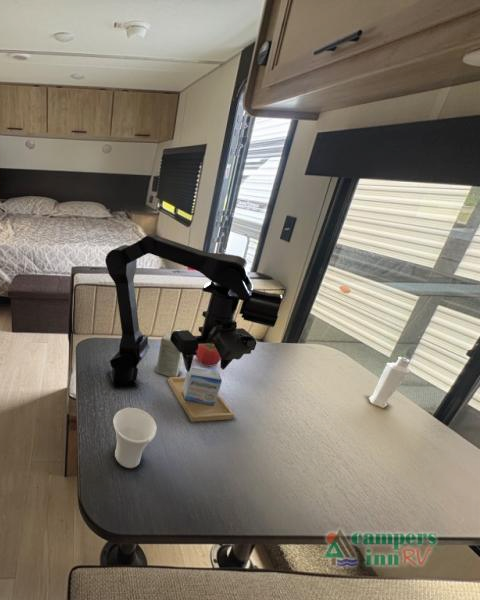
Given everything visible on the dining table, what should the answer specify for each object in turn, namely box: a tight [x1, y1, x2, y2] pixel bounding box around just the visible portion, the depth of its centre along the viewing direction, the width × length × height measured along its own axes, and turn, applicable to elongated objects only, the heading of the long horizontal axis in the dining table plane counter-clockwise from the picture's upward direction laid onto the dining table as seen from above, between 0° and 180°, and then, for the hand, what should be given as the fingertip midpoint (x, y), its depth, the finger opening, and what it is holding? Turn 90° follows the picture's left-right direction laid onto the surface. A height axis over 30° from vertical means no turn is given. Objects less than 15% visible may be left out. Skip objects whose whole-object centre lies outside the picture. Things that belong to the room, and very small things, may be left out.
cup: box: [112, 407, 158, 469], centre depth 63 cm, size 9×9×10 cm
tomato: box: [195, 344, 221, 367], centre depth 97 cm, size 8×8×8 cm
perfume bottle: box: [368, 356, 412, 409], centre depth 82 cm, size 5×4×15 cm
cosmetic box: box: [155, 332, 183, 378], centre depth 91 cm, size 6×4×12 cm
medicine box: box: [183, 365, 223, 405], centre depth 81 cm, size 8×4×9 cm, turn 79°
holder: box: [167, 376, 235, 423], centre depth 83 cm, size 11×15×2 cm
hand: (204, 369), depth 74 cm, fingers open, 9 cm apart
